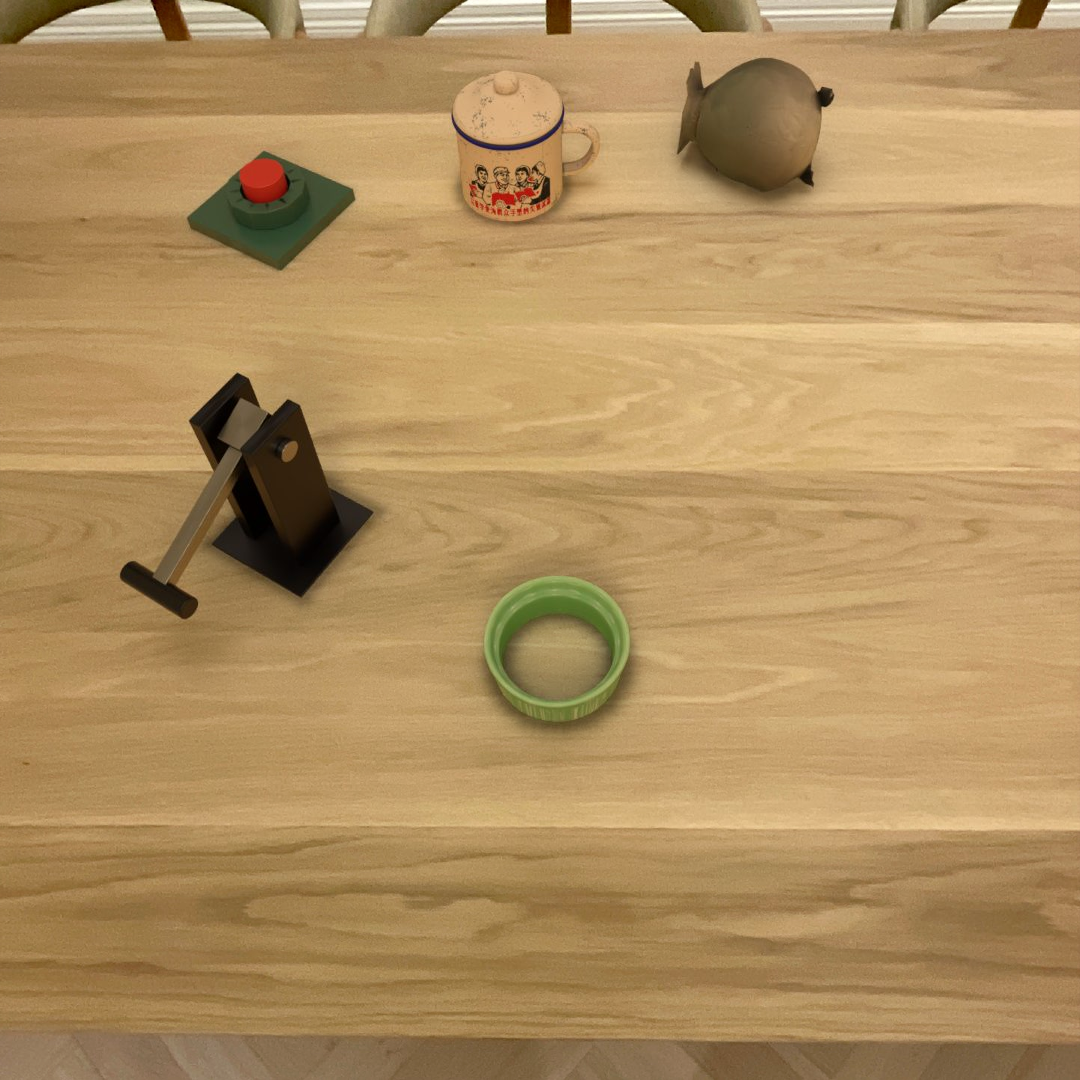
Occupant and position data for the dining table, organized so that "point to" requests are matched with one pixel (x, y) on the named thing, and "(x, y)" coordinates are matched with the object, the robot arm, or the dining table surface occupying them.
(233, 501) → the bracket
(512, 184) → the teacup with lid
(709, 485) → the dining table surface
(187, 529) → the lever
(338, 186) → the button box
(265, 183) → the button
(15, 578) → the dining table surface
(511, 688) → the ramekin
